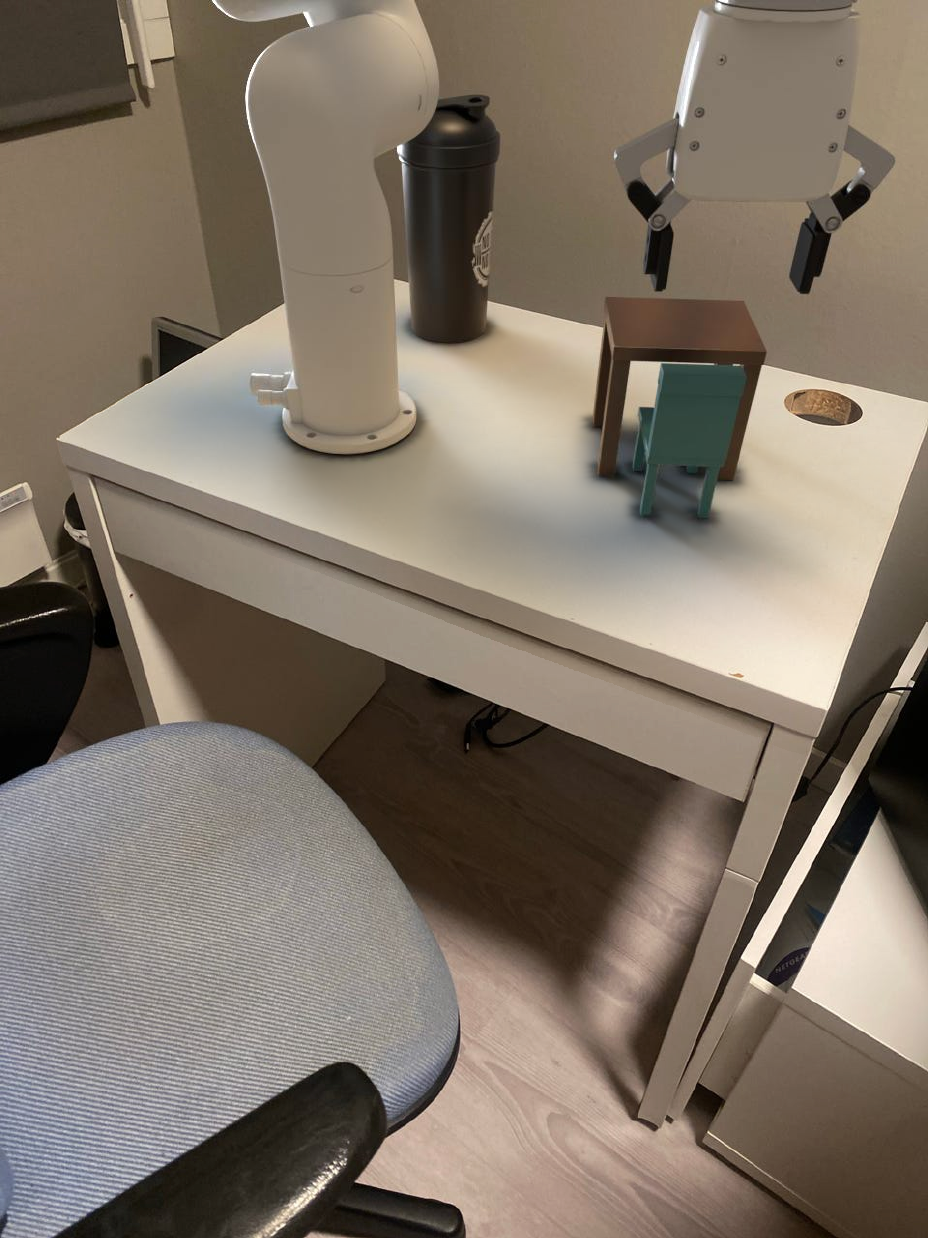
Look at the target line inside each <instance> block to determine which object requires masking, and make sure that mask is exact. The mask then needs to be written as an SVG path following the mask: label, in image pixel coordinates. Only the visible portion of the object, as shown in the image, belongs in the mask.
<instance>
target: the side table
mask: <svg viewBox="0 0 928 1238" xmlns="http://www.w3.org/2000/svg"><path fill="white" fill-rule="evenodd" d="M603 311H604V318H603V325H602V334H601V344H600V352H599V360H598V369H597V377H596V386H595V395H594V402H593V410H592V411H593V412H592V427H594V428H602V429H601V435H600V436H601V437H600V444H599V453H598V460H597V471H598V472H597V473H598V474H597V475H598V476H608V477H611V476H612V477H615V475H616V467H617V460H618V452H619V446H620V439H621V433H622V426H623V419H624V411H625V403H626V398H627V392H628V385H629V384H628V383H629V377H630V369H631V363H632V362H650V363H652V362H653V363H677V364H709V365H739V366H742V367H743V369H744V372H745V374H746V377H747V378H746V382H745V386H744V390H743V394H742V397H741V398H740V402H739V406H738V410H737V414H736V419H735V423H734V427H733V431H732V436H731V440H730V444H729V448H728V452H727V457H726V460H725V462H724V466H723V467H720V469H719V474H718V478H717V480H720V481H721V480H723V481H724V480H726V481H734V479H735V476H736V471H737V467H738V463H739V459H740V455H741V452H742V448H743V443H744V440H745V435H746V431H747V428H748V423H749V419H750V415H751V411H752V407H753V403H754V399H755V396H756V391H757V387H758V382H759V379H760V374H761V371H762V366H764V365H765V362H766V357H767V353H768V351H767V348H766V347H765V344H764V342H763V340H762V338H761V336H760V334H759V331H758V329H757V327H756V324H755V322H754V320H753V318H752V315H751V313H750V312H749V309H748V306H747V305H746V302H745V300H728V299H727V300H726V299H724V300H723V299H697V298H696V299H695V298H694V299H693V298H665V297H664V298H661V297H629V296H628V297H623V296H605V298H604V306H603Z"/></svg>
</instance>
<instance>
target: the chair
mask: <svg viewBox="0 0 928 1238" xmlns="http://www.w3.org/2000/svg"><path fill="white" fill-rule="evenodd" d="M658 372H659V373H658V378H657V390H656V395H655V402H654V407H652V406H649V407H648V406H638V409H637V418H638V427H637V434H636V441H635V447H634V454H633V460H632V466H631V467H632V471H633V472H642V471H643V468H644V460H645V459H646V460H645V461H646V470H645V476H644V480H643V481H644V482H643V488H642V493H641V500H640V505H639V514H640V516H647V517H648V516H649V517H650V516H651V513H652V512H651V511H652V508H653V507H652V506H653V501H654V495H655V491H656V484H657V478H658V472H659V466H677V467H678V466H680V467H686V472H687V474H697V472H698V468H699V467H706V472H705V477H704V481H703V484H702V490H701V494H700V499H699V504H698V508H697V517H698V518H700V519H705V518H706V519H708V518H709V516H710V512H711V507H712V504H713V500H714V494H715V491H716V486H717V483H718V474H719V469H720V467H723V466H724V462H725V460H726V457H727V452H728V448H729V444H730V440H731V436H732V431H733V427H734V423H735V419H736V414H737V410H738V406H739V402H740V398H741V397H742V394H743V390H744V386H745V382H746V378H747V377H746V374H745V372H744V369H743V367H742V366H740V365H736V364H733V365H714V364H705V363H673V362H660V366H659V371H658Z"/></svg>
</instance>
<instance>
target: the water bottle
mask: <svg viewBox="0 0 928 1238" xmlns="http://www.w3.org/2000/svg"><path fill="white" fill-rule="evenodd" d="M490 100H491V99H490V96H488V95H484V94H466V95H459V96H451V97H446V98H438V102H437V106H436V109H435V112H434V114H433V117H432V118H431V120H430V122H429V123H428V125H427V126H426V127H425V128H424V130H423V131H422V132H421V133H419V134H418V135H417V136H416V137H414V138H412V139H411V140H409V141H408V142H406V143H404V144H402V145H400V146H398V147H396V148H397V149H396V151H397V155H398V159H399V161H400V162H401V173H402V189H403V190H402V191H403V207H404V223H405V224H404V225H405V240H406V241H405V242H406V257H407V258H406V259H407V260H406V261H407V274H408V275H407V276H408V277H407V278H408V293H409V307H410V308H409V309H410V311H409V312H410V322H411V323H410V326H411V331H412V332H413V333H414V334H415V335H416V336H418V337H420V338H421V339H424V340H427V341H431V342H434V343H442V344H444V343H445V344H450V343H452V344H453V343H454V344H455V343H464V342H468V341H472V340H474V339H475V340H476V339H477V338H479V337H480V336H482V335H483V334H484V333H485V332H486V329H487V319H488V318H487V317H488V301H489V300H488V298H489V285H490V284H489V283H490V274H491V273H490V272H491V259H492V258H491V254H492V242H493V241H492V239H493V225H494V223H493V221H494V206H495V205H494V197H495V196H494V195H495V180H496V165H497V162H498V160H499V156H500V154H501V133H500V132H499V131H498V130H497V128H496V125H495V123H494V121H493V120H492V119H491V117H490V116H489V115H488V114H486V109H487V108H488V107H489V105H490V102H491V101H490Z"/></svg>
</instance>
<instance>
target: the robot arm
mask: <svg viewBox="0 0 928 1238" xmlns="http://www.w3.org/2000/svg"><path fill="white" fill-rule="evenodd" d="M211 1H212V2H213V3H214V4H215V6H216V7H217V8H218V9H220V10H221V11H222V12H223V13H224V14H226V15H227V16H228V17H230V18H233V19H235V20H237V21H242V22H249V23H251V22H252V23H253V22H255V23H256V22H264V21H270V20H271V21H272V20H276V19H280V18H286V17H290V16H294V15H300V14H303V15H304V17H305V18H306V21H307V23H308V24H309V26H308V27H305V28H299V29H297V30H294V31H290V32H289V33H287V34H285V35H282V36H281V37H279V38H278V39H276V40H274V41H273V42H271V43H270V44H269V45H268V46H267V47H266V48H265V49H264V50H263V51H262V53H260V55H259V56H258V58H257V59H256V61H255V62H254V64H253V66H252V68H251V71H250V73H249V77H248V80H247V84H246V91H245V108H246V117H247V121H248V126H249V130H250V133H251V137H252V141H253V144H254V146H255V150H256V153H257V156H258V159H259V162H260V163H259V164H260V166H261V169H262V172H263V177H264V180H265V184H266V188H267V193H268V197H269V203H270V209H271V213H272V219H273V226H274V227H273V228H274V233H275V241H276V249H277V255H278V256H277V257H278V261H279V262H278V263H279V269H280V278H281V286H282V291H283V292H282V293H283V301H284V309H285V318H286V325H287V332H288V333H287V334H288V340H289V348H290V356H291V357H290V358H291V364H292V371H284V373H283V375H279V374H278V375H277V374H276V375H274V374H270V373H252V374H251V375H250V378H249V386H250V387H249V388H250V392H251V394H252V395H255V396H257V403H258V405H259V406H283V409H282V414H281V418H282V425H283V429H284V432H285V433H286V435H287V436H288V437H289V438H290V439H291V440H292V441H293V442H295V443H297V444H299V445H300V446H302V447H304V448H307V449H309V450H313V451H315V452H320V453H327V454H334V455H335V454H336V455H355V454H364V453H369V452H370V453H371V452H374V451H375V452H376V451H377V450H382V449H385V448H388V447H390V446H393V445H395V444H396V443H398V442H400V441H402V440H403V439H404V438H405V437H407V435H409V434H410V433H412V430H413V429H414V427H415V426H416V422H417V407H416V403H415V402H414V400H413V398H412V397H411V396H409V394H407V393H406V392H405V391H403V390H401V389H400V387H399V365H398V364H399V363H398V340H397V339H398V338H397V320H396V319H397V317H396V292H395V271H394V270H395V268H394V249H393V247H394V246H393V232H392V231H393V229H392V222H391V215H390V212H389V208H388V204H387V201H386V200H387V199H386V198H385V195H384V192H383V190H382V187H381V184H380V181H379V179H378V176H377V173H376V169H375V159H376V158H378V157H379V156H381V155H382V154H385V153H386V152H389V151H391V150H393V149H395V148H397V147H398V146H400V145H402V144H404V143H406V142H408V141H409V140H411V139H412V138H414V137H416V136H417V135H418V134H419V133H421V132H422V131H423V130H424V128H425V127H426V126H427V125H428V123H429V122H430V120H431V118H432V117H433V114H434V112H435V109H436V106H437V102H438V99H439V96H440V75H439V68H438V62H437V58H436V55H435V51H434V48H433V44H432V42H431V39H430V37H429V34H428V31H427V28H426V26H425V24H424V21H423V18H422V17H421V14H420V12H419V9H418V7H417V4H416V1H415V0H211ZM857 2H858V0H715V1H714V5H706V6H702V7H700V8H699V11H698V13H697V17H696V20H695V23H694V26H693V29H692V33H691V36H690V40H689V43H688V44H689V45H688V47H687V51H686V55H685V59H684V63H683V68H682V72H681V77H680V82H679V86H678V91H677V95H676V96H677V97H676V101H675V106H674V110H673V111H674V112H673V117H672V118H670V119H669V120H667V121H666V122H664V123H662V124H660V125H658V126H656V127H654V128H653V129H650V130H648V131H647V132H645V133H643V134H641V135H639V136H637V137H635V138H633V139H631V140H629V141H627V142H625V143H624V144H622V145H619V146H618V147H617V148H616V149H615V150H614V152H613V160H614V164H615V167H616V169H617V171H618V174H619V177H620V180H621V183H622V185H623V188H624V190H625V193H626V196H627V199H628V200H629V202H630V203H631V204H632V206H633V207H634V208H635V209H636V211H637V212H638V213H639V214H640V215H641V216H642V218H643V219H644V220H645V221H646V222H647V232H646V238H645V246H644V255H643V263H642V270H643V275H650V281H651V284H652V288H653V291H654V292H656V293H661V292H663V291H664V290H666V289H667V284H668V277H669V271H670V264H671V257H672V250H673V244H674V235H675V233H674V229H673V227H672V221H673V220H674V219H675V218H676V217H677V216H678V214H680V213H681V212H682V210H683V209H685V207H687V206H688V204H689V203H690V202H691V201H696V202H697V201H699V202H727V203H728V202H731V203H805V204H806V205H807V207H808V209H809V211H810V213H809V217H805V218H804V220H803V221H801V224H800V228H799V231H798V236H797V240H796V245H795V249H794V253H793V257H792V262H791V266H790V269H789V275H788V278H789V280H790V282H791V283H792V285H793V287H794V288H795V290H796V292H797V293H799V295H810V293H811V290H812V286H813V283H814V278H820V277H821V274H822V272H823V269H824V265H825V262H826V257H827V253H828V251H829V250H828V249H829V246H830V243H831V239H832V235H833V234H835V233H837V232H838V231H839V230H840V229H841V227H842V225H843V223H844V222H845V221H846V220H847V219H848V218H849V217H851V216H852V215H854V213H856V212H857V211H858V210H860V209H861V208H862V207H863V206H864V205H867V203H868V202H869V200H870V199H871V195H872V193H874V190H876V189H877V188H878V187H879V185H880V184H882V182H883V181H884V179H885V178H886V177H887V175H888V174H889V173H890V172H891V171H892V169H894V166H895V164H896V157H895V156H894V154H892V153H891V152H890V151H889V150H887V149H886V148H885V147H883V146H882V145H880V144H879V143H878V142H876V141H875V140H873V139H871V138H870V137H869V136H867V135H866V134H864V133H862V132H861V131H860V130H858V129H857V128H855V127H854V126H852V125H851V124H850V117H851V112H852V107H853V100H854V95H855V87H856V86H855V85H856V79H857V71H858V62H859V61H858V60H859V51H860V50H859V49H860V41H861V39H860V38H861V23H862V22H861V20H862V19H861V18H862V15H861V13H860V12H858V11H857V10H855V9H853V4H854V3H857ZM666 151H667V153H666V173H667V175H668V176H669V178H668V179H667V180H666V181H665V182H664V183H663V184H662V186H661V187H660V188H659V189H658V190H657V191H656V192H655V193H654V192H653V191H652V189H651V188H650V187H649V186H648V185H647V183H646V182H645V181H644V180H643V175H642V173H641V167H642V165H643V164H644V163H645V162H647V161H648V160H651V159H653V158H655V157H656V156H659V155H660V154H662V153H664V152H666ZM844 152H845V153H846V154H847V155H849V156H851V157H852V158H854V159H855V160H857V161H859V162H860V167H859V169H858V171H856V173H855V176H854V177H853V179H851V180H849V181H848V182H846V183H845V184H844V185H843V186H842V187H841V188H839V189H838V190H837V191H836V192H835V193H833V194H832V195H830V192H831V191H832V189H833V187H834V184H835V182H836V180H837V176H838V173H839V169H840V166H841V163H842V158H843V154H844Z"/></svg>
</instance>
